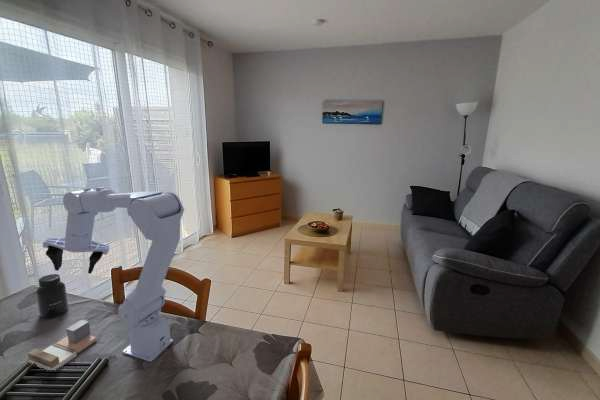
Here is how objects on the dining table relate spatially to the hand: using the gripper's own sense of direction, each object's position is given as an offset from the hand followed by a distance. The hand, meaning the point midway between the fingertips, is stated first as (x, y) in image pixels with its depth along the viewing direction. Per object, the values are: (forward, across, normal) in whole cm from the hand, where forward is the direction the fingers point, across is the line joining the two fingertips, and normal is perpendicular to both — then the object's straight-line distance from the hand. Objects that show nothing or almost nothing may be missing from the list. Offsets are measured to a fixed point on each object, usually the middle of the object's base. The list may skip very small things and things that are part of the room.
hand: (74, 269), depth 79 cm
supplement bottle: (+21, +5, -4) cm, 22 cm away
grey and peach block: (+13, -6, +13) cm, 20 cm away
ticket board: (+14, -3, +18) cm, 23 cm away
